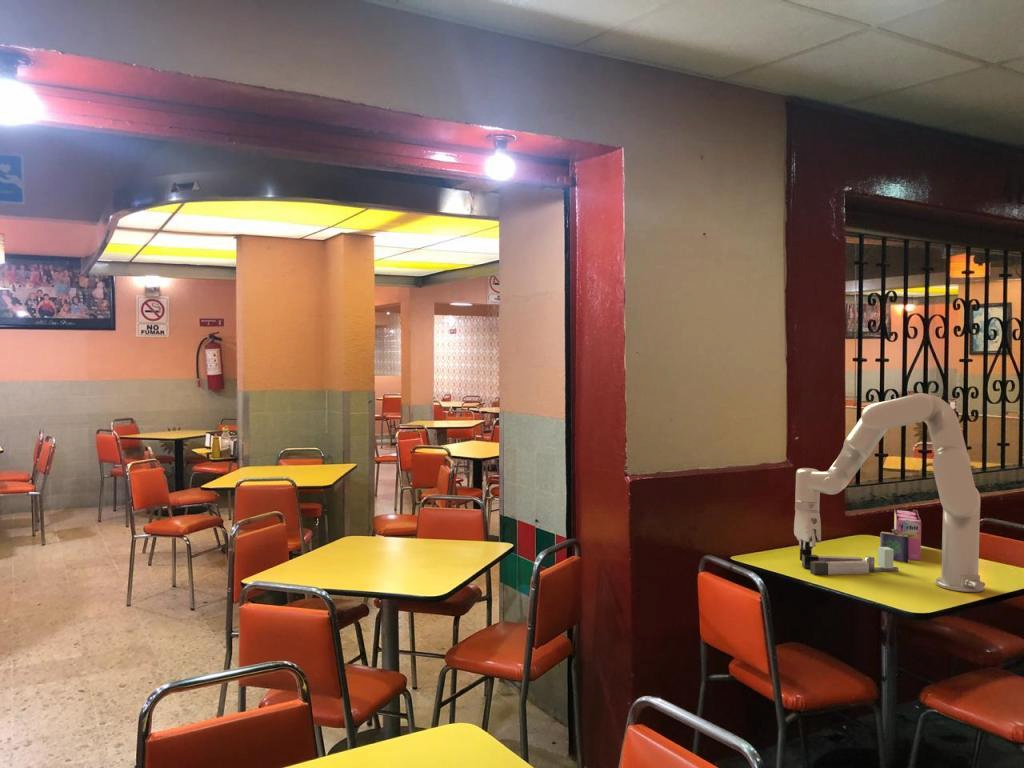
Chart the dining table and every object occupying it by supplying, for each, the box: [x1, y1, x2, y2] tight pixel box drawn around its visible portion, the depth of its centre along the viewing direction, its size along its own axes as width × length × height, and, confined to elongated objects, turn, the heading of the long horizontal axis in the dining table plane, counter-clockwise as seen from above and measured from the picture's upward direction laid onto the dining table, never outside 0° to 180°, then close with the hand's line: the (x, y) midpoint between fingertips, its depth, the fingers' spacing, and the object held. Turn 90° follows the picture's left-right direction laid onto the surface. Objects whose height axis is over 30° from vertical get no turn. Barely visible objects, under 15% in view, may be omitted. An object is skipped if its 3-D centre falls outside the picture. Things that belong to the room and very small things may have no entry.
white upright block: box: [877, 546, 894, 568], centre depth 246 cm, size 4×3×6 cm
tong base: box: [809, 556, 899, 576], centre depth 244 cm, size 4×30×4 cm, turn 97°
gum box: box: [893, 508, 922, 561], centre depth 272 cm, size 24×8×14 cm, turn 155°
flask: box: [879, 528, 909, 564], centre depth 260 cm, size 9×3×11 cm, turn 41°
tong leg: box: [801, 554, 864, 569], centre depth 248 cm, size 3×18×4 cm, turn 84°
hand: (805, 560), depth 253 cm, fingers closed
